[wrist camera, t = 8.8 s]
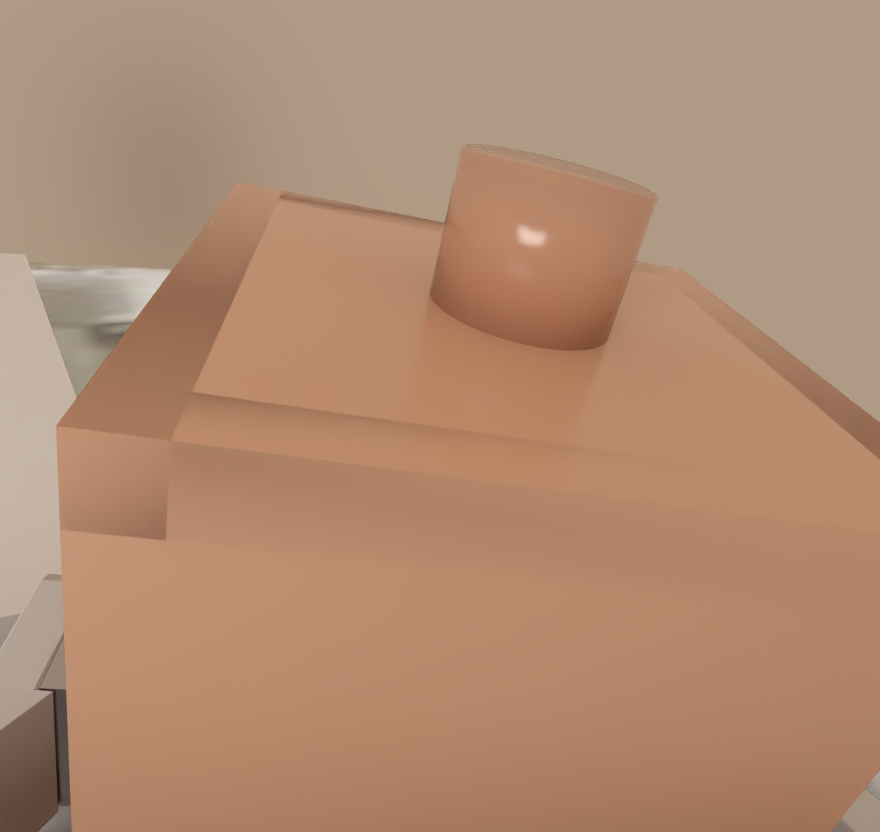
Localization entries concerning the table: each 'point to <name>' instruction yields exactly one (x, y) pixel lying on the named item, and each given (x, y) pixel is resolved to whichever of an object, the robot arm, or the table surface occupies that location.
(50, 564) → the cream flat block
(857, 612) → the tan box with knob
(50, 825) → the table surface
